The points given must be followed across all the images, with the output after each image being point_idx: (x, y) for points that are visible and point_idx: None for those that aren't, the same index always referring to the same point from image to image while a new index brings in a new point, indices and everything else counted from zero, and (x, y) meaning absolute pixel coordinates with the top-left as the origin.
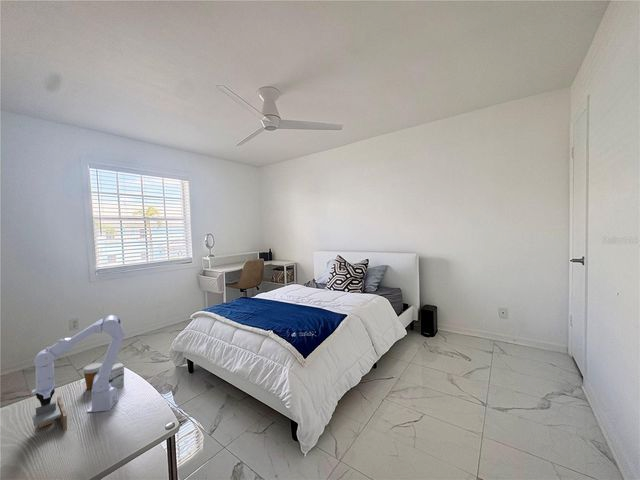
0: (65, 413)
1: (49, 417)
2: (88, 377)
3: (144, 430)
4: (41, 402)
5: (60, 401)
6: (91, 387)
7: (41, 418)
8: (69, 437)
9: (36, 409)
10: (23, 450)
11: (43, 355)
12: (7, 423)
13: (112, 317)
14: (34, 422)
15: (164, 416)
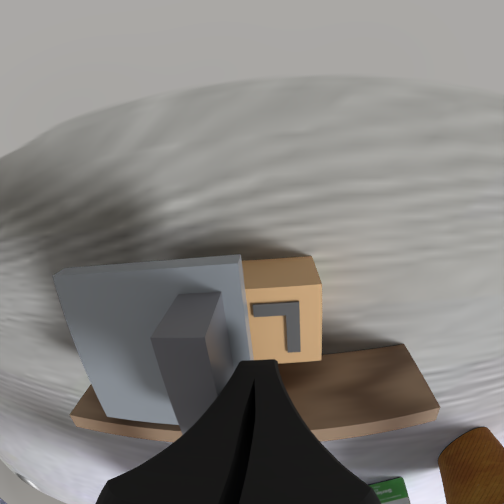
0: (100, 429)
1: (94, 366)
2: (477, 496)
3: (21, 461)
4: (201, 426)
5: (334, 434)
6: (451, 455)
7: (112, 325)
8: (46, 360)
9: (156, 341)
10: (43, 199)
11: None
12: (467, 95)
13: None
14: (74, 280)
15: (61, 497)
